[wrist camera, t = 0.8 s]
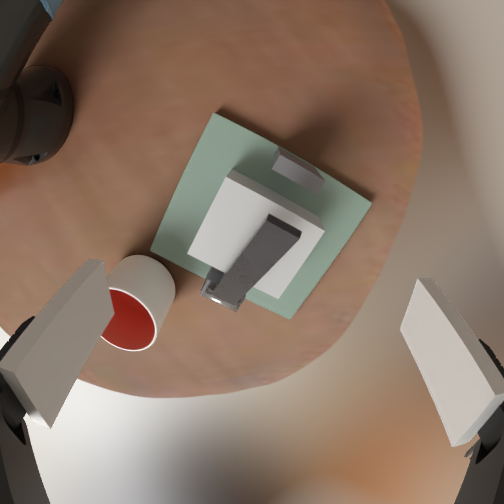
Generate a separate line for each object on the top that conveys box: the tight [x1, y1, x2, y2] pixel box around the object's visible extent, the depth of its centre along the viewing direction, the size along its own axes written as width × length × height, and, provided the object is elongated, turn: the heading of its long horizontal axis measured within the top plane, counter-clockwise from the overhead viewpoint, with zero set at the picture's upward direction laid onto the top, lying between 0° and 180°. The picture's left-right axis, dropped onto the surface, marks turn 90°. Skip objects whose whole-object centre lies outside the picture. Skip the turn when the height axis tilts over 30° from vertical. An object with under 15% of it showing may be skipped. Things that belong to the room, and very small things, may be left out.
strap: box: [203, 214, 302, 312], centre depth 31 cm, size 4×17×1 cm, turn 152°
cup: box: [101, 255, 175, 351], centre depth 40 cm, size 10×10×10 cm
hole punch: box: [150, 113, 372, 320], centre depth 36 cm, size 22×20×9 cm
